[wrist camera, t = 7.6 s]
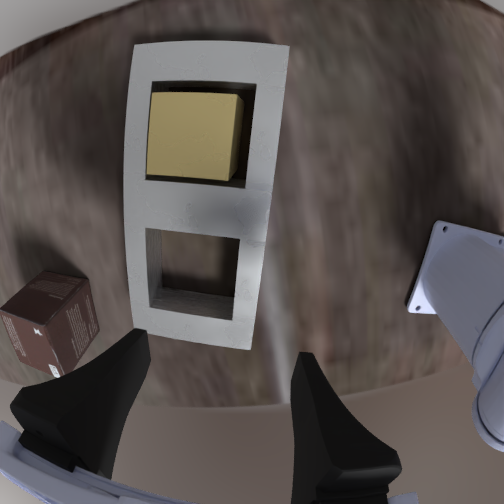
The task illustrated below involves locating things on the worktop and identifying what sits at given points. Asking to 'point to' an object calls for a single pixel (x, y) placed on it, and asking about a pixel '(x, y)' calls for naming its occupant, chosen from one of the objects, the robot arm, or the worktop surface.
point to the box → (51, 322)
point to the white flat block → (200, 189)
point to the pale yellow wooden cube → (194, 134)
